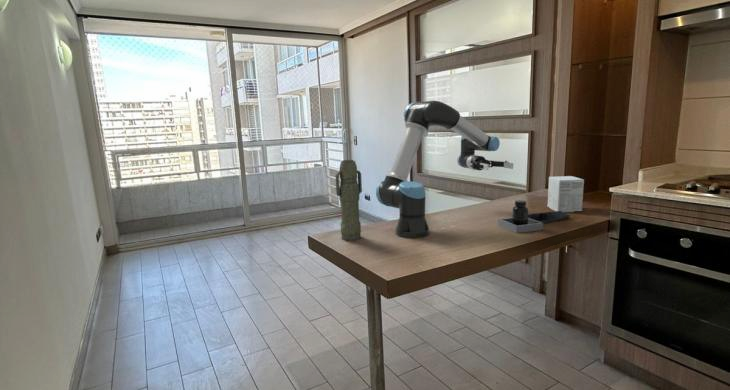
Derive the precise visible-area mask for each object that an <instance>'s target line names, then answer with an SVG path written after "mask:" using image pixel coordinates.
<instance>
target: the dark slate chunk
mask: <svg viewBox="0 0 730 390" xmlns="http://www.w3.org/2000/svg"><path fill="white" fill-rule="evenodd" d="M528 218H530V219H533V220H536V221H538V222H541V223H543V225H544V224H550V223H554V222H560V221H563V220H566V219H568V218H570V215H569V214H568V213H567V212H562V211H547V212H546V211H545V212H538V213H537V212H536V213H528Z"/></svg>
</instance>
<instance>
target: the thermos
mask: <svg viewBox="0 0 730 390" xmlns="http://www.w3.org/2000/svg"><path fill="white" fill-rule="evenodd" d="M362 181H363V180H362V173H361V171H360V170H358V167H357V164H356V161H355V160H353V159H344V160H342V161H340V165H339V171H337V172H336V174H335V188H336V189H335V190H336V191H335V192H336V196H338V197H339V202H340V212H341V213H340V214H341V221H340V234H341V240H343V241H346V242H347V241H349V242H350V241H351V242H352V241H357V240H361V234H362V233H361V232H362V230H361V229H362V223H361V221H360V205H359V201H360V194H361V193H362V192H363V188H362Z"/></svg>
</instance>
